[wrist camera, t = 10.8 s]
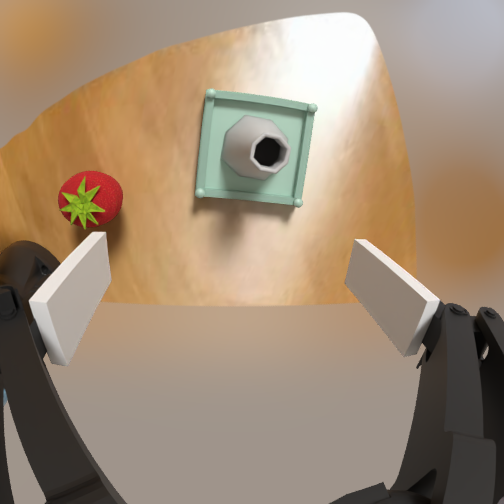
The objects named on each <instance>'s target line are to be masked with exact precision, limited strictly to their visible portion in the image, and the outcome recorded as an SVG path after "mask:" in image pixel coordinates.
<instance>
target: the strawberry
mask: <svg viewBox="0 0 504 504" xmlns="http://www.w3.org/2000/svg"><path fill="white" fill-rule="evenodd" d="M122 200H123V192H122V189H121V186H120V185H119V183H118V182H117V181H116V180H115V179H114V178H112V177H111V176H109V175H107V174H104V173H101V172H97V171H85V172H81V173H78V174H76V175H74V176H72V177H71V178H70V179H69V180H68V181H67V182H65V183H64V185H63V186H62V188H61V190H60V192H59V196H58V204H59V208H60V210H61V212H62V214H63V215H64V217H65V218H66V219H67V220H68V221H70V222H71V225H72V224H75V225H77V226H81V227H84V229H85V230H86V227H87V228H89V227H96V226H100V225H103V224H105V223H107V222H109V221H111V220H112V219H113V218H114V217H115V216H116V215H117V214H118V212H119V211H120V209H121V205H122Z"/></svg>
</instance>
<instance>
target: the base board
mask: <svg viewBox="0 0 504 504" xmlns="http://www.w3.org/2000/svg"><path fill="white" fill-rule="evenodd" d="M317 109H318V108H317V105H316V104H308V103H303V102H298V101H292V100H287V99H281V98H275V97H269V96H262V95H255V94H247V93H239V92H230V91H219V90H214V89H208V90H206V97H205V105H204V113H203V121H202V129H201V138H200V147H199V157H198V167H197V178H196V190H195V196H196V197H198V198H202V197H217V198H228V199H239V200H250V201H260V202H270V203H279V204H288V205H295V206H296V207H298V208H299V207H301V206H302V205H303V201H302V200H301V198H302V192H303V186H304V180H305V174H306V168H307V162H308V155H309V149H310V142H311V135H312V128H313V121H314V114H315V112H316V111H317ZM244 115H250V116H255V117H260V118H265V119H270V120H272V121H273V122H274V123H275V124H276V125H277V127H278V128H279V129H280V130H281V131H282V132H283V133H284V134H285V136H286V137H287V138H288V144H289V146H290V147H291V152H290V157H289V162H288V164H287V165H286V166H285V167H283V168H282V169H281V170H280V171H279V172H278V173H277V174H273V173H272V174H271V175H270V176H269V177H268V178H266V179H265V180H258V179H252V178H246V177H240V176H238V175H237V174H236V173H235V172H234V171H233V170H232V169H231V168H230V167H229V166H228V165H227V164H226V163H225V162H224V161H223V160H222V159H221V153H222V148H223V142H224V137H225V132H226V131H227V130H228V129H229V128H230V127H232V126H233V125H234V124H235V123H236V122H237V121H238V120H240V119H241V118H242V117H243V116H244Z"/></svg>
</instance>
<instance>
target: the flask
mask: <svg viewBox="0 0 504 504" xmlns="http://www.w3.org/2000/svg"><path fill="white" fill-rule="evenodd" d="M290 152H291V147H290V146H289V144H288V138H287V137H286V136H285V134H284V133H283V132H282V131H281V130H280V129H279V128H278V127H277V125H276V124H275V123H274V122H273V121H272V120H270V119H265V118H260V117H255V116H250V115H244V116H243V117H242V118H241V119H240V120H238V121H237V122H236V123H235V124H234V125H233V126H232V127H230V128H229V129H228V130H227V131H226V132H225V137H224V142H223V148H222V153H221V159H222V160H223V161H224V162H225V163H226V164H227V165H228V166H229V167H230V168H231V169H232V170H233V171H234V172H235V173H236V174H237V175H238V176H240V177H246V178H252V179H258V180H265V179H266V178H268V177H269V176H270V175H271V174H272V173H273V174H277V173H278V172H279V171H280V170H281V169H282V168H283V167H285V166H286V165H287V164H288V162H289V157H290Z"/></svg>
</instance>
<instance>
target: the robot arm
mask: <svg viewBox="0 0 504 504" xmlns="http://www.w3.org/2000/svg"><path fill="white" fill-rule="evenodd" d="M111 281H112V280H111V273H110V265H109V257H108V248H107V238H106V232H92V233H91V234H90V235H89V236H88V237H87V238H86V239H85V240H84V241H83V242H82V243H81V244H80V245H79V246H78V247H77V248H76V249H75V250H74V251H73V252H72V253H71V254H70V255H69V256H68V257H67V258H66V259H65V260H64V261H63V262H62V264H60V262H59V261H58V260H57V259H56V258H55V257H54V256H53V255H52V254H51V253H50V252H49V251H48V250H47V249H45V248H44V247H42V246H41V245H39V244H36V243H34V242H31V241H17V242H15V243H13V244H11V245H10V246H9V247H7V248H6V249H5V250H3V251H2V252H1V254H0V504H14V500H13V495H12V490H11V485H10V479H9V473H8V466H7V458H6V449H5V437H4V413H3V407H4V405H5V404H6V402H7V400H8V403H9V406H10V410H11V413H12V416H13V420H14V423H15V426H16V429H17V432H18V435H19V438H20V440H21V443H22V446H23V448H24V451H25V454H26V456H27V458H28V461H29V463H30V465H31V468H32V470H33V472H34V474H35V477H36V479H37V481H38V483H39V485H40V487H41V489H42V491H43V492H44V495H45V497H46V501H47V502H46V503H45V504H127V503H126V502H125V501H124V500H123V498H122V497H121V496H120V495H119V493H118V492H117V491H116V489H115V488H114V487H113V485H112V484H111V483H110V481H109V480H108V479H107V477H106V476H105V474H104V473H103V472H102V470H101V469H100V467H99V466H98V464H97V463H96V461H95V460H94V458H93V457H92V455H91V453H90V452H89V450H88V449H87V447H86V445H85V444H84V442H83V440H82V439H81V437H80V435H79V434H78V432H77V430H76V428H75V426H74V425H73V423H72V421H71V419H70V417H69V416H68V413H67V411H66V409H65V407H64V405H63V403H62V401H61V400H60V398H59V395H58V393H57V391H56V389H55V387H54V384H53V382H52V380H51V377H50V375H49V372H48V370H47V368H46V365H45V363H44V361H43V358H44V356H45V354H46V352H47V354H48V356H49V358H50V361H51V363H52V364H57V365H62V366H69V363H70V361H71V359H72V357H73V355H74V353H75V351H76V348H77V346H78V344H79V342H80V340H81V338H82V336H83V334H84V332H85V330H86V328H87V326H88V324H89V322H90V320H91V318H92V316H93V314H94V312H95V310H96V308H97V306H98V304H99V303H100V301H101V299H102V297H103V295H104V293H105V292H106V290H107V288H108V286H109V284H110V283H111ZM345 284H346V286H347V287H348V288H349V289H350V290H351V292H352V293H353V294H354V295H355V296H356V298H357V299H358V300H359V301H360V303H361V304H362V305H363V306H364V307H365V309H366V310H367V311H368V312H369V314H370V315H371V316H372V317H373V319H374V320H375V321H376V322H377V324H378V325H379V326H380V327H381V328H382V330H383V331H384V332H385V334H386V335H387V336H388V338H389V339H390V340H391V341H392V343H393V344H394V345H395V346H396V348H397V349H398V350H399V352H400V353H401V354H402V356H403V357H406V356H411V355H415V354H417V352H418V350H419V348H420V346H421V344H422V343H423V344H424V346H425V347H426V349H425V351H424V353H423V355H422V357H421V359H420V361H419V363H418V365H417V367H416V368H417V369H418V368H419V366H420V365H422V366H421V374H420V381H419V388H418V394H417V400H416V406H415V412H414V417H413V421H412V426H411V430H410V435H409V439H408V443H407V447H406V451H405V454H404V458H403V461H402V465H401V468H400V472H399V475H398V477H397V480H396V482H395V483H394V485H393V486H392V487H391V489H390V490H387V489H386V487H385V485H384V483H383V482H382V483H379V484H377V485H374V486H371V487H368V488H365V489H362V490H359V491H356V492H353V493H350V494H346V495H345V496H343V497H341V498H339V499H337V500H336V501H333V502H332V503H330V504H504V322H503V320H502V318H501V317H500V315H499V314H498V313H496V312H495V310H493V309H492V308H487V307H481V308H480V309H479V311H478V313H477V316H470V315H469V312H468V311H467V310H466V309H465V308H463V307H461V306H460V305H457V304H453V303H448V304H446V305H444V304H443V303H442V302H441V301H440V300H439V299H438V298H437V297H436V296H435V295H434V294H432V293H431V292H430V291H429V290H428V289H427V288H425V287H424V286H423V285H422V284H421V283H420V282H418V281H417V280H416V279H415V278H414V277H412V276H411V275H410V274H409V273H408V272H406V271H405V270H404V269H403V268H401V267H400V266H399V265H398V264H397V263H395V262H394V261H393V260H392V259H390V258H389V257H388V256H386V255H385V254H384V253H383V252H381V251H380V250H379V249H378V248H376V247H375V246H374V245H372V244H371V243H370V242H368V241H367V240H364V239H354V244H353V248H352V253H351V258H350V262H349V267H348V271H347V275H346V279H345ZM488 346H489V350H488V354H487V356H486V358H485V359H484V358H483V354H484V352H485V350H486V348H487V347H488Z"/></svg>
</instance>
